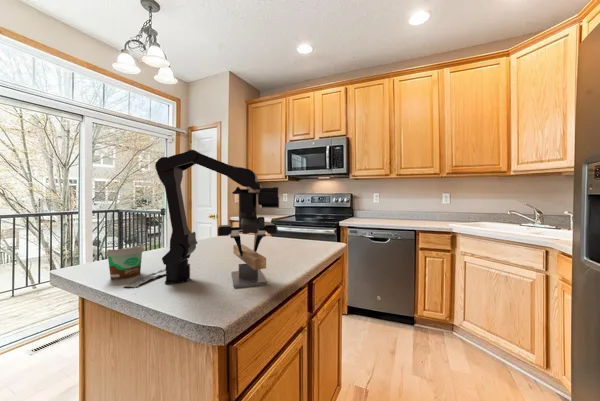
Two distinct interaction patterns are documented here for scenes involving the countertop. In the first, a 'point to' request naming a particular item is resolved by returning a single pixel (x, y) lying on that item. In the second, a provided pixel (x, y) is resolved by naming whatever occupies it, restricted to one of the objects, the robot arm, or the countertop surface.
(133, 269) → the food container
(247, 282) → the ridge stand
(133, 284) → the driftwood
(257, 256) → the oak rod
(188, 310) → the countertop surface
